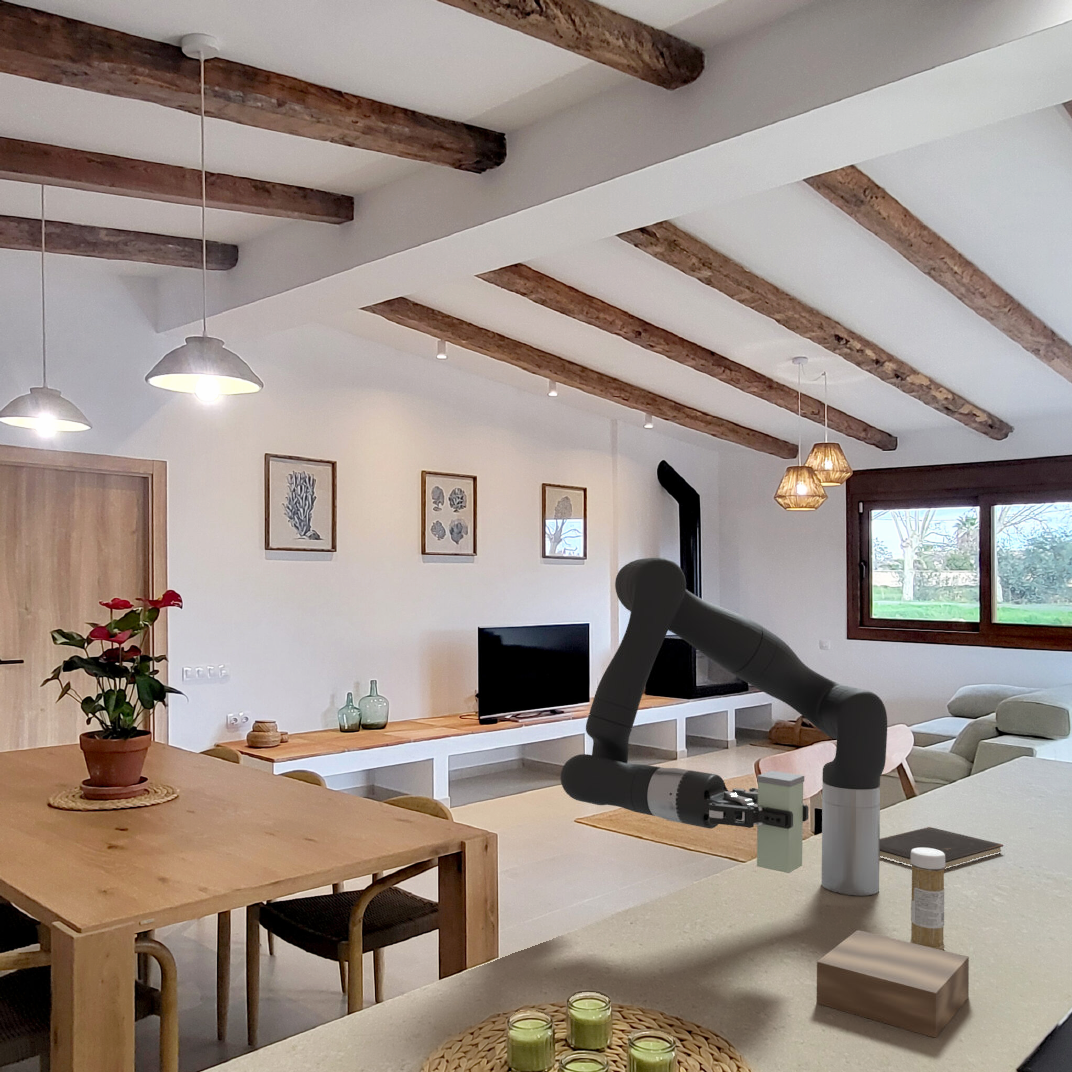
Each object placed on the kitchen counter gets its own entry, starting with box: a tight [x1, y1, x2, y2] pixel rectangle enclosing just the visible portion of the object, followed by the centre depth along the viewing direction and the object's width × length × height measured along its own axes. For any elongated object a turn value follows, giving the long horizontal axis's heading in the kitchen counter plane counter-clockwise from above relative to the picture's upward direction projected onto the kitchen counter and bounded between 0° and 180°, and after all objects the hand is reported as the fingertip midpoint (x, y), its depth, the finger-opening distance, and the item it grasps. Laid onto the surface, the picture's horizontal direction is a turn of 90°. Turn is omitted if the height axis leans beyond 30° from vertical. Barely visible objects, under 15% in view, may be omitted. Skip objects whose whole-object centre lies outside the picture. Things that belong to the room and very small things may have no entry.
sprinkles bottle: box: [910, 848, 945, 951], centre depth 141 cm, size 5×5×14 cm
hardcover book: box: [880, 826, 1004, 868], centre depth 188 cm, size 16×23×2 cm
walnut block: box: [816, 929, 970, 1039], centre depth 123 cm, size 14×14×5 cm
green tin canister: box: [756, 770, 805, 874], centre depth 134 cm, size 5×5×12 cm
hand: (799, 816), depth 133 cm, fingers closed on green tin canister, 4 cm apart
